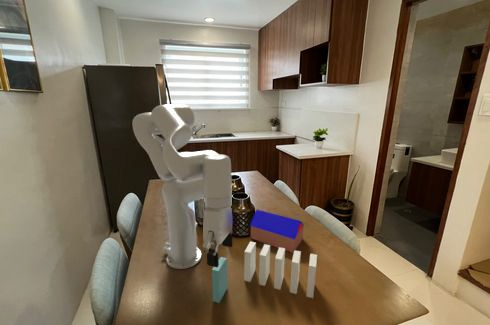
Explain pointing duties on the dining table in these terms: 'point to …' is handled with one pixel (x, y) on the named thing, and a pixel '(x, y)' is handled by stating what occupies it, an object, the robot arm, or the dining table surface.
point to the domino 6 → (311, 275)
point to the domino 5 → (295, 272)
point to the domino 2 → (249, 261)
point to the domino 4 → (279, 268)
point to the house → (276, 230)
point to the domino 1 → (219, 280)
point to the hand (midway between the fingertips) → (220, 255)
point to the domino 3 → (264, 264)
